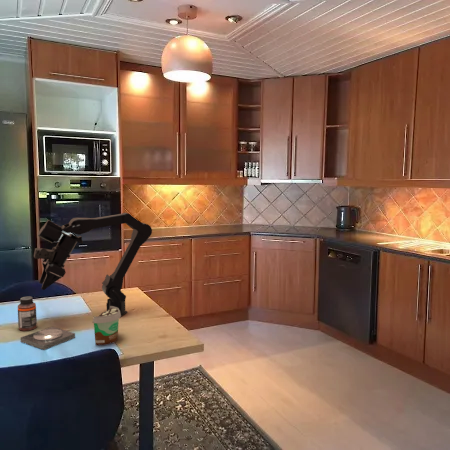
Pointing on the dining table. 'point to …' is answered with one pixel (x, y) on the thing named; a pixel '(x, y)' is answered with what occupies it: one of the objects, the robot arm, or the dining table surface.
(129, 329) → the dining table surface
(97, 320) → the food container
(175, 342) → the dining table surface
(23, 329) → the supplement bottle
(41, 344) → the plate
